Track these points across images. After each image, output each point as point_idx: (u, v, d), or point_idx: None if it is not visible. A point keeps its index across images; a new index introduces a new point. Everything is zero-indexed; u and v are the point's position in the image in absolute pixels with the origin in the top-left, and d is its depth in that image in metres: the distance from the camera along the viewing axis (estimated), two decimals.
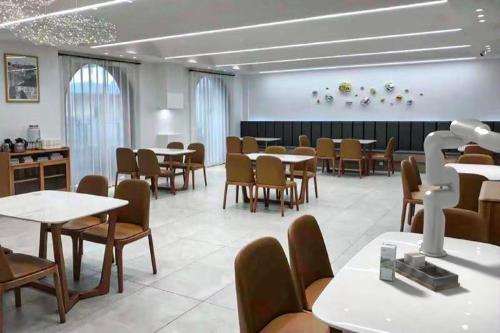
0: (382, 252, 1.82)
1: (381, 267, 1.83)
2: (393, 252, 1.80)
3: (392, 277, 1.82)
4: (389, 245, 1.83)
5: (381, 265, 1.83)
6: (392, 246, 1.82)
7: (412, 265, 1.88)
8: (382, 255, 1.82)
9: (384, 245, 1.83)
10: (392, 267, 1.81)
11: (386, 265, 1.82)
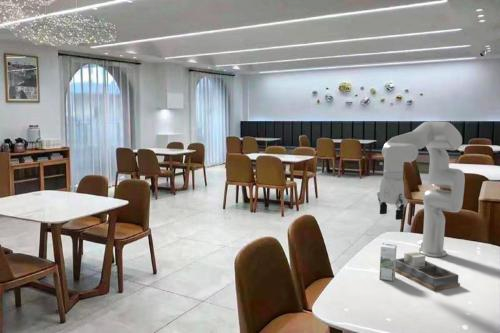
0: (382, 252, 1.82)
1: (381, 267, 1.83)
2: (393, 252, 1.80)
3: (392, 277, 1.82)
4: (389, 245, 1.83)
5: (381, 265, 1.83)
6: (392, 246, 1.82)
7: (412, 265, 1.88)
8: (382, 255, 1.82)
9: (384, 245, 1.83)
10: (392, 267, 1.81)
11: (386, 265, 1.82)
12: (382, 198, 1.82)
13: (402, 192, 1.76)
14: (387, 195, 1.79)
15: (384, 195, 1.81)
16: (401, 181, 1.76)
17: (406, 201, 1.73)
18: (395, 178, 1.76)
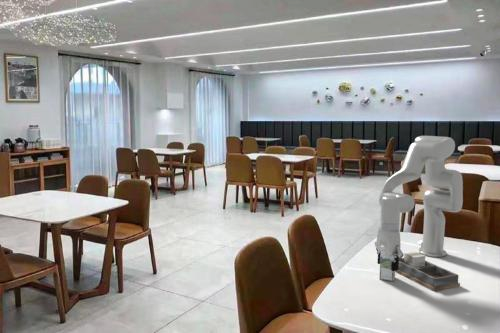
0: (382, 252, 1.82)
1: (381, 267, 1.83)
2: None
3: (392, 277, 1.82)
4: None
5: (381, 265, 1.83)
6: None
7: (412, 265, 1.88)
8: (382, 255, 1.82)
9: None
10: None
11: (386, 265, 1.82)
12: (379, 248, 1.85)
13: (398, 243, 1.79)
14: (384, 246, 1.82)
15: None
16: (398, 233, 1.79)
17: (402, 255, 1.76)
18: (391, 230, 1.79)
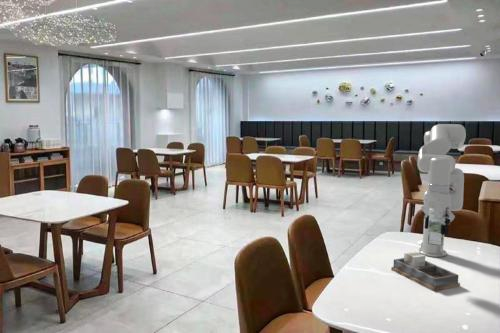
0: (431, 215, 1.76)
1: (429, 231, 1.77)
2: None
3: (441, 241, 1.75)
4: None
5: (429, 229, 1.77)
6: None
7: (412, 265, 1.88)
8: (431, 218, 1.76)
9: None
10: None
11: (435, 228, 1.76)
12: (427, 211, 1.78)
13: (449, 206, 1.72)
14: (433, 209, 1.75)
15: (429, 208, 1.77)
16: (448, 195, 1.72)
17: (453, 217, 1.69)
18: (442, 191, 1.72)
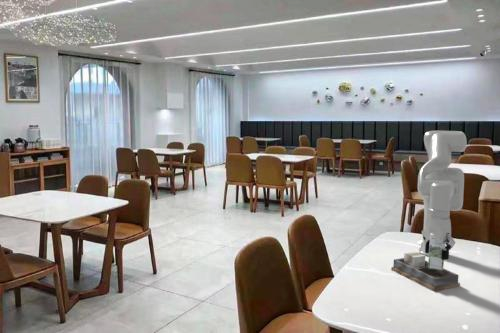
0: (431, 240, 1.77)
1: (430, 256, 1.78)
2: None
3: (442, 266, 1.76)
4: None
5: (430, 254, 1.78)
6: None
7: (412, 265, 1.88)
8: (431, 243, 1.77)
9: None
10: None
11: (436, 253, 1.77)
12: (427, 236, 1.79)
13: (449, 231, 1.74)
14: (434, 234, 1.76)
15: None
16: (448, 220, 1.73)
17: (453, 242, 1.71)
18: (442, 217, 1.73)
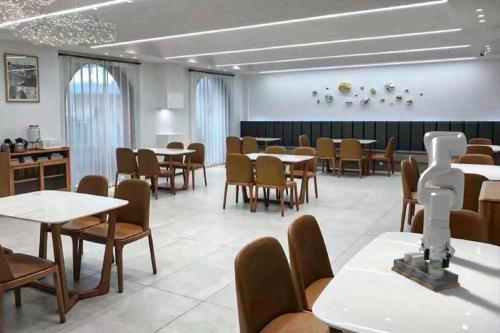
0: (431, 253, 1.77)
1: (430, 268, 1.78)
2: None
3: None
4: None
5: (430, 266, 1.78)
6: None
7: (412, 265, 1.88)
8: (431, 256, 1.77)
9: None
10: (442, 269, 1.76)
11: (436, 266, 1.77)
12: (427, 245, 1.80)
13: (449, 240, 1.74)
14: (433, 243, 1.77)
15: (429, 242, 1.79)
16: (448, 230, 1.74)
17: (453, 251, 1.71)
18: (442, 226, 1.74)
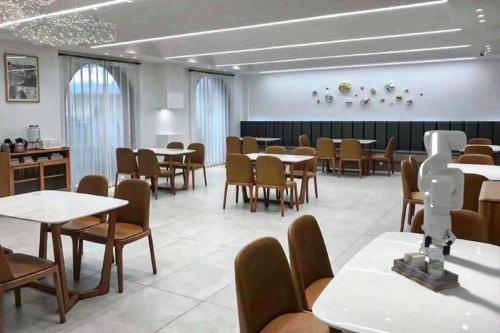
0: (431, 253, 1.77)
1: (430, 268, 1.78)
2: (442, 253, 1.75)
3: None
4: (438, 246, 1.78)
5: (430, 266, 1.78)
6: (441, 247, 1.77)
7: (412, 265, 1.88)
8: (431, 256, 1.78)
9: (432, 246, 1.78)
10: (441, 268, 1.76)
11: (435, 266, 1.77)
12: (428, 232, 1.80)
13: (449, 227, 1.74)
14: (434, 230, 1.77)
15: (430, 229, 1.78)
16: (449, 217, 1.73)
17: (454, 237, 1.70)
18: (442, 213, 1.73)
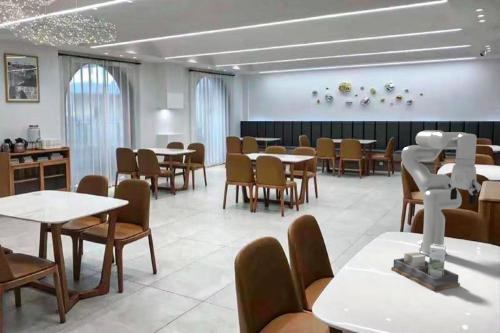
0: (431, 253, 1.77)
1: (430, 268, 1.78)
2: (443, 253, 1.75)
3: None
4: (438, 246, 1.78)
5: (430, 266, 1.78)
6: (442, 247, 1.77)
7: (412, 265, 1.88)
8: (431, 256, 1.77)
9: (433, 246, 1.78)
10: (442, 269, 1.76)
11: (435, 266, 1.77)
12: (454, 184, 1.93)
13: (475, 178, 1.88)
14: (460, 181, 1.90)
15: (456, 181, 1.92)
16: (474, 168, 1.87)
17: (480, 186, 1.84)
18: (468, 165, 1.87)
